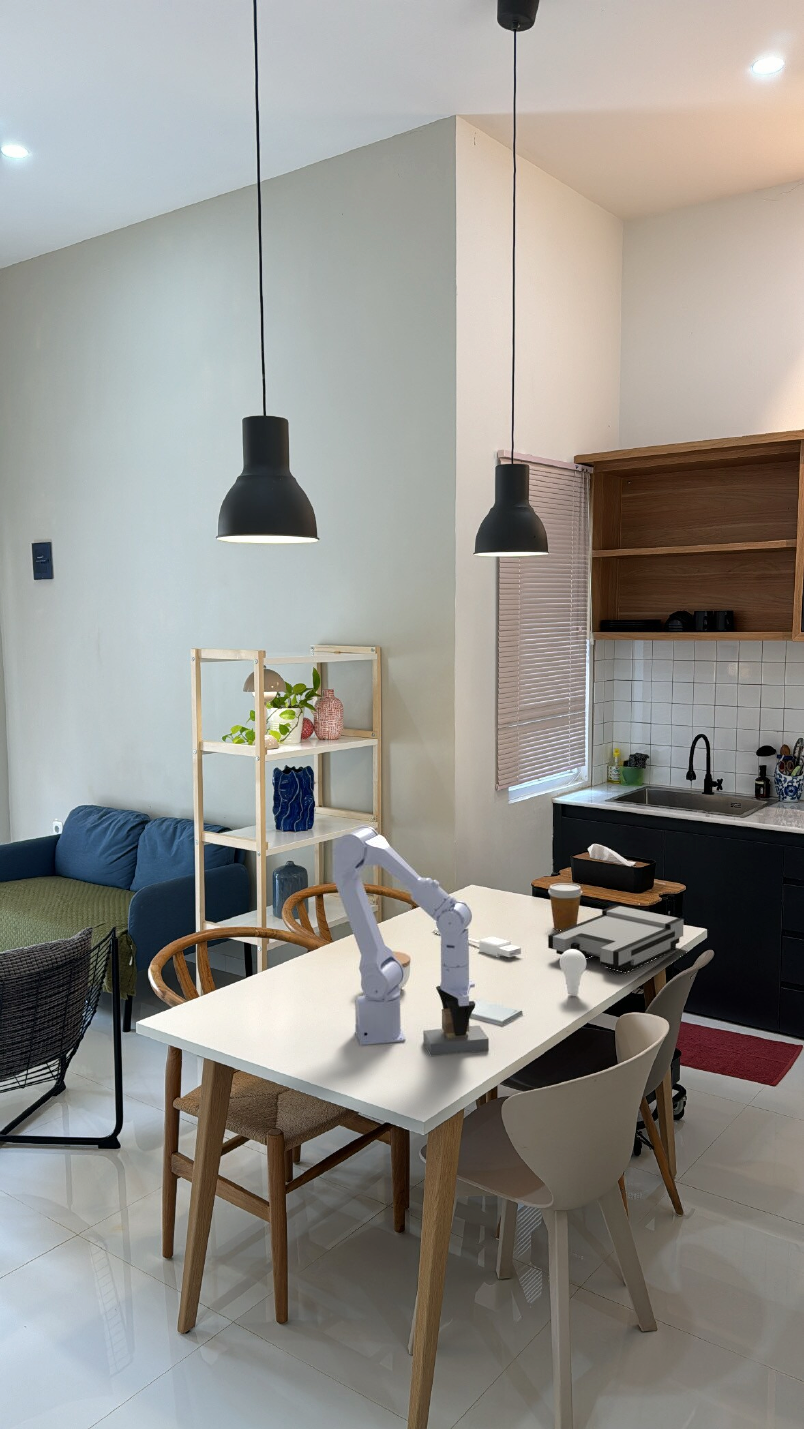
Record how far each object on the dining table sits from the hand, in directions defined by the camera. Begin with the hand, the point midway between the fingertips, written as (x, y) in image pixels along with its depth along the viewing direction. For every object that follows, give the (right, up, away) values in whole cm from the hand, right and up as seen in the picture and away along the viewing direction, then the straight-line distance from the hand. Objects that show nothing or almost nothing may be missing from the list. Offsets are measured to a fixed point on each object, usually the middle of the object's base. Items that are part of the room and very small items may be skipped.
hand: (455, 1027), depth 207 cm
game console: (+45, +1, +57) cm, 73 cm away
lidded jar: (-14, -2, +34) cm, 37 cm away
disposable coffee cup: (+35, +3, +81) cm, 88 cm away
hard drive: (+8, -3, +18) cm, 20 cm away
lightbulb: (+29, -1, +28) cm, 40 cm away
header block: (0, -4, 0) cm, 4 cm away
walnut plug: (0, -4, 0) cm, 4 cm away
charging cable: (+9, +1, +67) cm, 67 cm away
